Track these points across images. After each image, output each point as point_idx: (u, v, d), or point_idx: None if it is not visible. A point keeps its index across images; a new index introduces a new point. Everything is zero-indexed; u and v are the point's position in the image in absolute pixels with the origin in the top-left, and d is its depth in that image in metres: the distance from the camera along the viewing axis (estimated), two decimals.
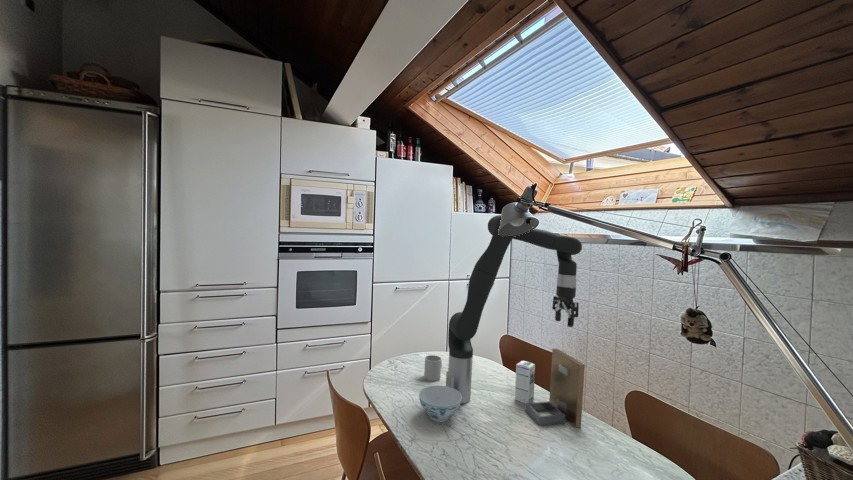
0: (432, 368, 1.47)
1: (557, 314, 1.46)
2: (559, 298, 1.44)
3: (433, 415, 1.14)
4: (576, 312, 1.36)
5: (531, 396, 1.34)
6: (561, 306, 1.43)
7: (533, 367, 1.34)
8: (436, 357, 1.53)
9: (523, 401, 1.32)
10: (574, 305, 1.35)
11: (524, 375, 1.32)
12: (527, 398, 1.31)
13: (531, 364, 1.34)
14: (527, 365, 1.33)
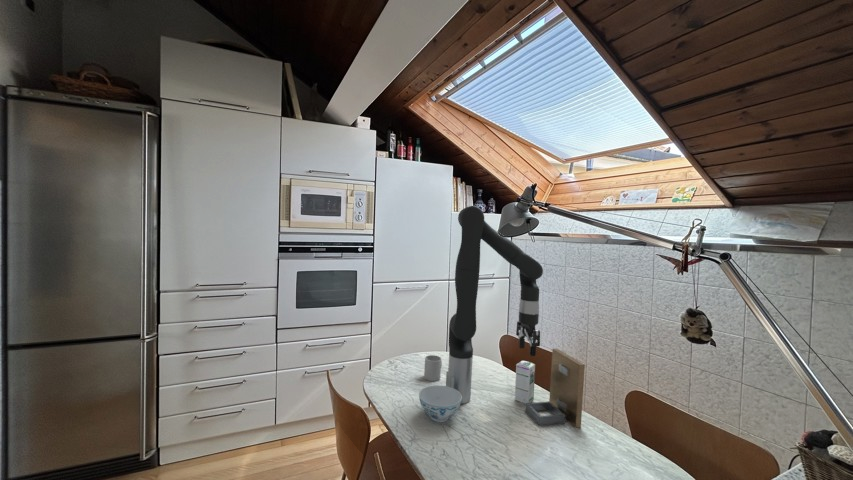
0: (432, 368, 1.47)
1: (520, 341, 1.38)
2: (522, 324, 1.37)
3: (433, 415, 1.14)
4: (538, 341, 1.28)
5: (531, 396, 1.34)
6: (524, 333, 1.35)
7: (533, 367, 1.34)
8: (436, 357, 1.53)
9: (523, 401, 1.32)
10: (535, 333, 1.28)
11: (524, 375, 1.32)
12: (527, 398, 1.31)
13: (531, 364, 1.34)
14: (527, 365, 1.33)
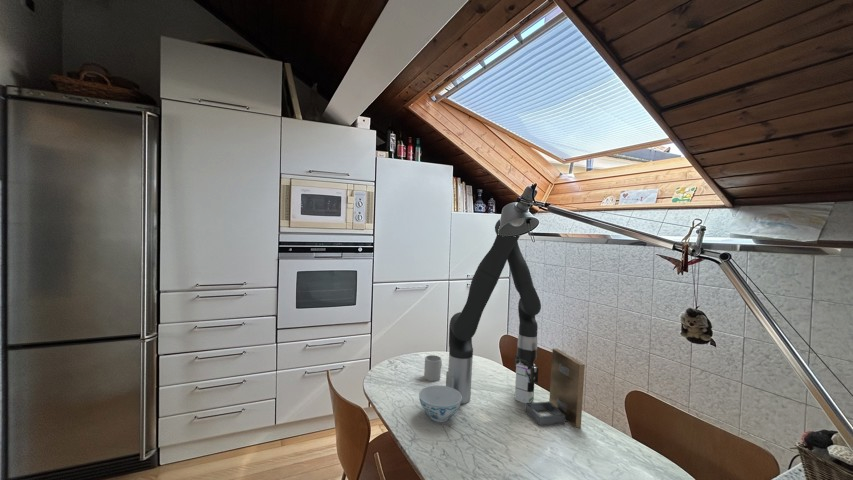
0: (432, 368, 1.47)
1: None
2: (520, 358, 1.37)
3: (433, 415, 1.14)
4: (536, 377, 1.29)
5: (531, 396, 1.34)
6: None
7: None
8: (436, 357, 1.53)
9: (523, 401, 1.32)
10: (533, 370, 1.28)
11: (524, 375, 1.32)
12: (527, 398, 1.31)
13: None
14: None
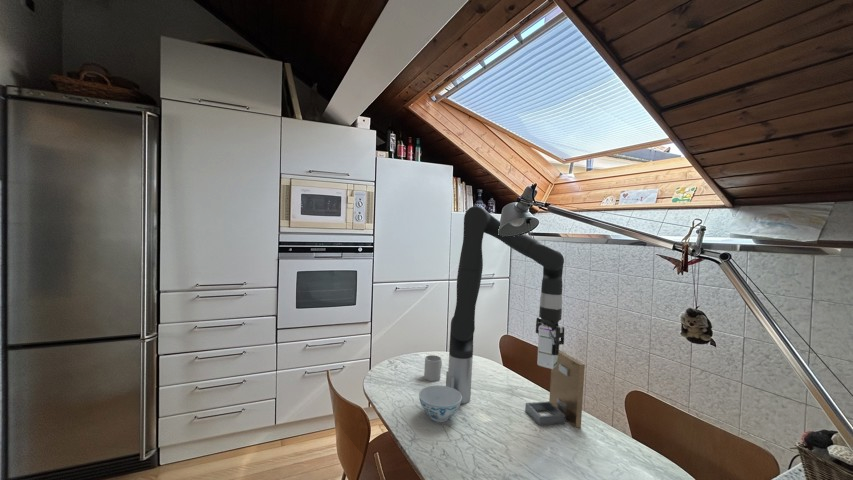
0: (432, 368, 1.47)
1: None
2: (543, 320, 1.24)
3: (433, 415, 1.14)
4: (561, 338, 1.16)
5: (556, 361, 1.21)
6: None
7: None
8: (436, 357, 1.53)
9: (547, 366, 1.20)
10: (559, 330, 1.15)
11: (548, 337, 1.20)
12: (551, 362, 1.19)
13: None
14: None
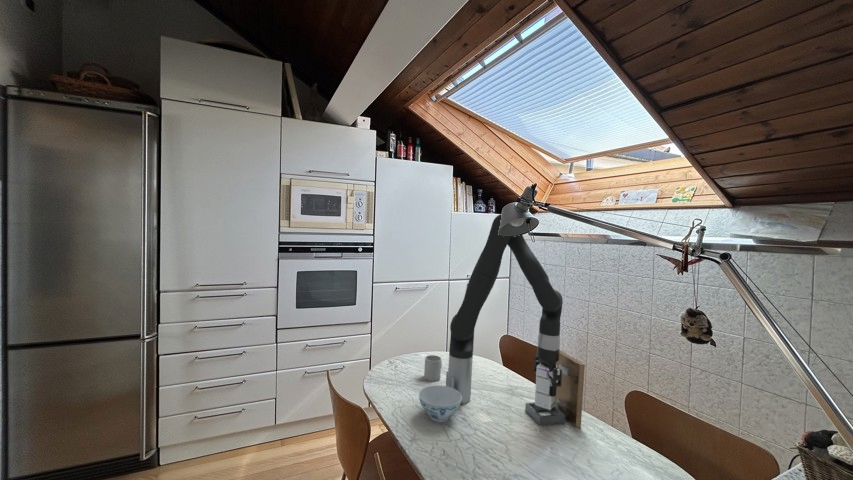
0: (432, 368, 1.47)
1: None
2: (540, 359, 1.24)
3: (433, 415, 1.14)
4: (559, 380, 1.16)
5: (553, 401, 1.21)
6: None
7: None
8: (436, 357, 1.53)
9: (544, 407, 1.20)
10: (557, 373, 1.15)
11: (546, 378, 1.20)
12: (549, 403, 1.19)
13: None
14: None
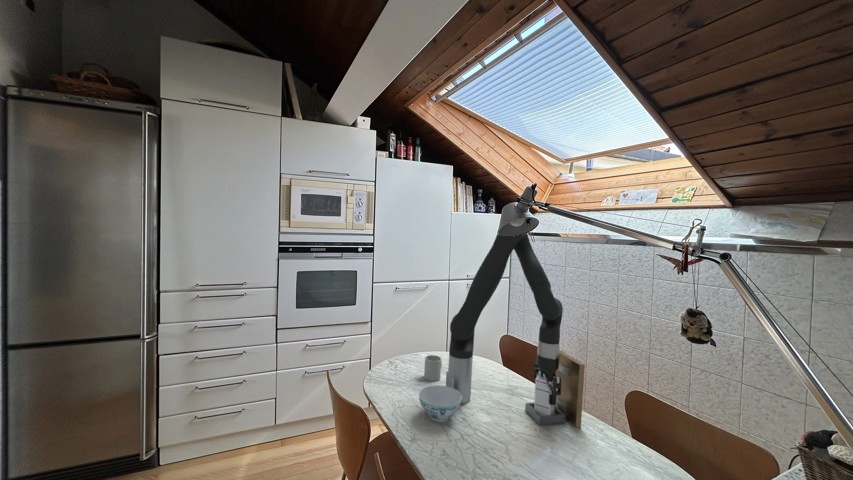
0: (432, 368, 1.47)
1: None
2: (540, 367, 1.24)
3: (433, 415, 1.14)
4: (559, 389, 1.16)
5: (552, 414, 1.21)
6: None
7: None
8: (436, 357, 1.53)
9: None
10: (556, 381, 1.15)
11: (544, 390, 1.20)
12: None
13: None
14: None
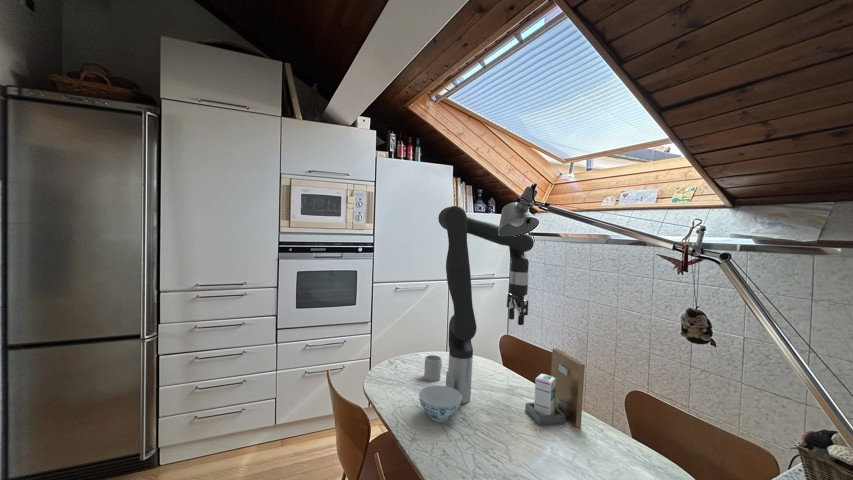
0: (432, 368, 1.47)
1: (510, 312, 1.43)
2: (512, 296, 1.42)
3: (433, 415, 1.14)
4: (526, 310, 1.33)
5: (552, 414, 1.21)
6: (513, 304, 1.40)
7: (554, 381, 1.21)
8: (436, 357, 1.53)
9: None
10: (523, 303, 1.32)
11: (544, 390, 1.20)
12: None
13: (551, 378, 1.22)
14: (548, 379, 1.20)
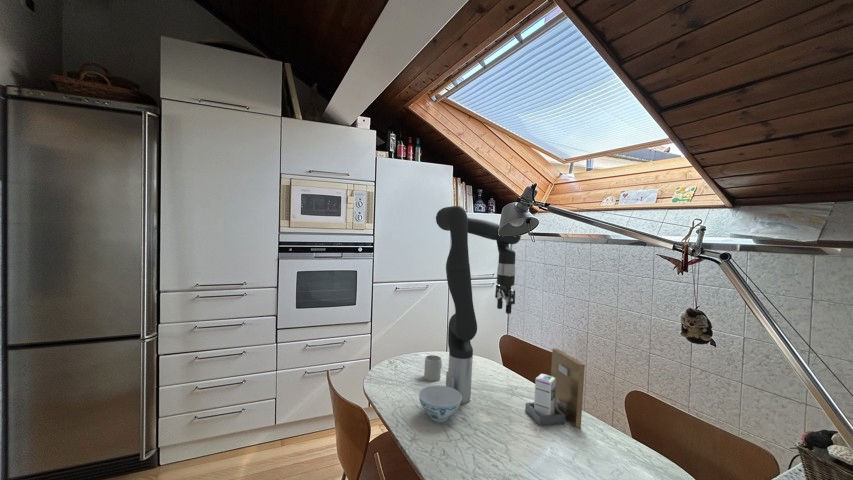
0: (432, 368, 1.47)
1: (499, 302, 1.51)
2: (500, 286, 1.49)
3: (433, 415, 1.14)
4: (513, 299, 1.41)
5: (552, 414, 1.21)
6: (501, 294, 1.48)
7: (554, 381, 1.21)
8: (436, 357, 1.53)
9: None
10: (511, 292, 1.40)
11: (544, 390, 1.20)
12: None
13: (551, 378, 1.22)
14: (548, 379, 1.20)
